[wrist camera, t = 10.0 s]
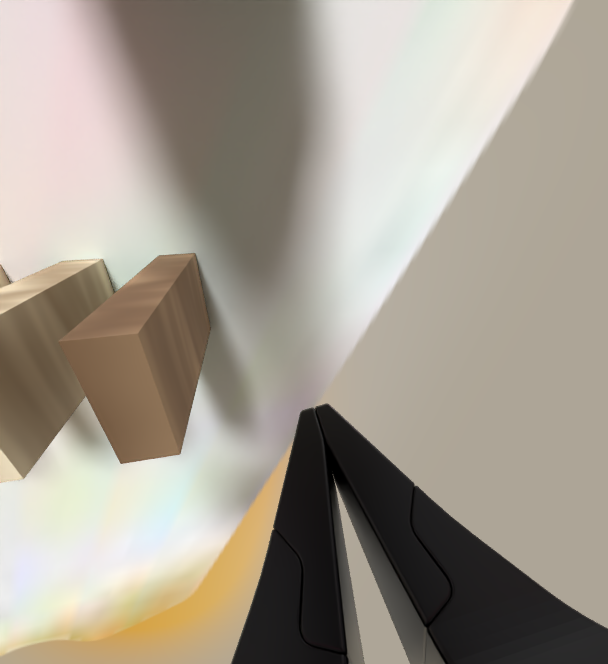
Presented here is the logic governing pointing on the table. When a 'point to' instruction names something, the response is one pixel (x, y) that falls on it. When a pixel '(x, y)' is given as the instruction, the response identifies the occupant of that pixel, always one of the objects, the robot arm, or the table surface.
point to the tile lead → (144, 358)
